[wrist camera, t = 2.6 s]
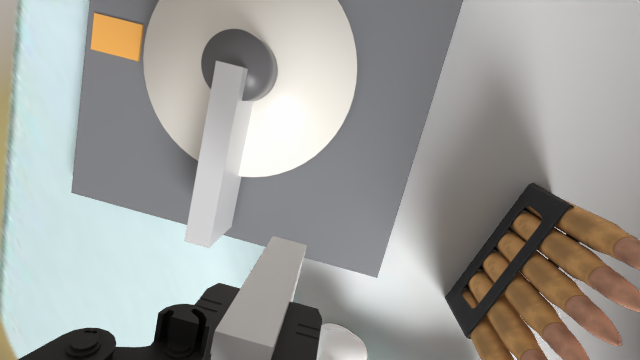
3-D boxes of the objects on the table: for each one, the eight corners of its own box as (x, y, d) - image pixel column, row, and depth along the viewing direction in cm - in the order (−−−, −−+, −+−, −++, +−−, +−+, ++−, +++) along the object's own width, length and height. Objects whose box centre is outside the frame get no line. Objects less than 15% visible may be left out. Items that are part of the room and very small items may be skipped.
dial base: (481, -74, 23) (490, -88, 21) (376, 268, 28) (377, 278, 26) (121, -154, 24) (105, -173, 22) (85, 188, 29) (69, 193, 27)
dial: (168, -67, 23) (126, -105, 19) (383, -17, 22) (388, -45, 18) (132, 198, 27) (91, 214, 23) (313, 248, 26) (305, 274, 22)
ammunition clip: (530, 181, 25) (678, 245, 14) (553, 195, 25) (720, 270, 14) (444, 298, 28) (507, 438, 16) (465, 310, 28) (542, 458, 16)
